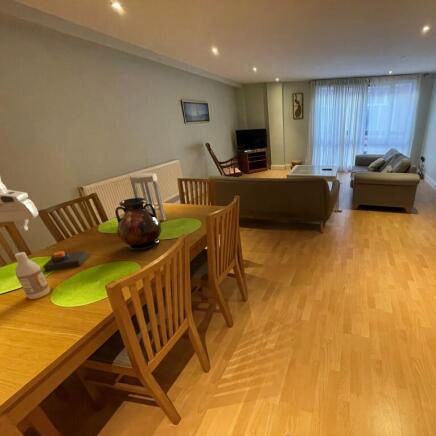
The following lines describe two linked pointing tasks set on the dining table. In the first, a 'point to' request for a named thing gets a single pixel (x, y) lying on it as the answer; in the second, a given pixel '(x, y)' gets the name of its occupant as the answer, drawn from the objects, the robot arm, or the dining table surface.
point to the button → (59, 254)
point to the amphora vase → (138, 225)
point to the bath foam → (31, 277)
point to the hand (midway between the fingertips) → (9, 232)
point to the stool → (148, 191)
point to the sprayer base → (66, 261)
